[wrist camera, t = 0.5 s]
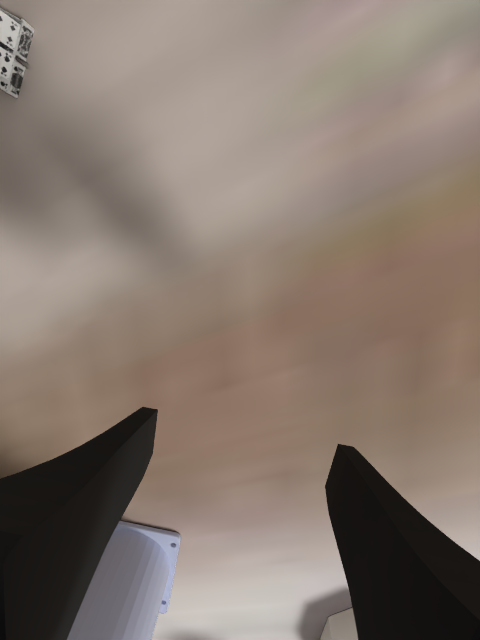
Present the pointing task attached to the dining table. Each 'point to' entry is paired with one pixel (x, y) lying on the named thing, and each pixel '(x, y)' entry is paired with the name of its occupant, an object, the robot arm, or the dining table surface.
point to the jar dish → (340, 627)
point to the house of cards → (13, 51)
